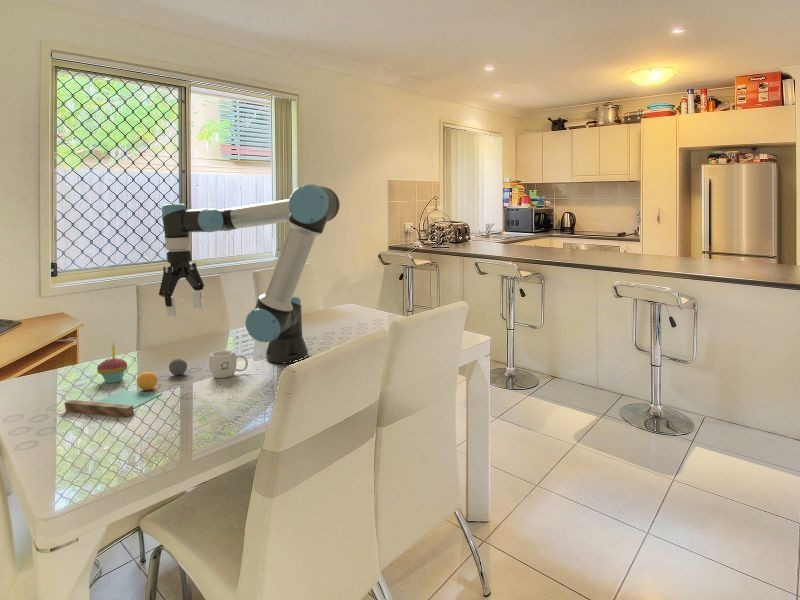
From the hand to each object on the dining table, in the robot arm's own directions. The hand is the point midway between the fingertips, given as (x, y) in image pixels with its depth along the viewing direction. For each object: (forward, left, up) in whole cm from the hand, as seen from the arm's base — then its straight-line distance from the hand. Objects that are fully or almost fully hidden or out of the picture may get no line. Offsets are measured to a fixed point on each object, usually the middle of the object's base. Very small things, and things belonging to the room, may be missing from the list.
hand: (185, 311), depth 167 cm
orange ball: (-3, +24, -17) cm, 29 cm away
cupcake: (+14, +19, -20) cm, 31 cm away
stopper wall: (-3, +42, -19) cm, 46 cm away
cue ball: (-3, +10, -17) cm, 20 cm away
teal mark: (-3, +33, -19) cm, 39 cm away
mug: (-20, +7, -20) cm, 29 cm away
